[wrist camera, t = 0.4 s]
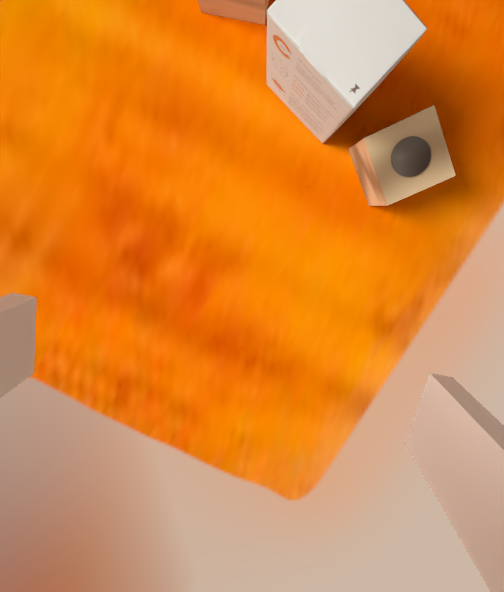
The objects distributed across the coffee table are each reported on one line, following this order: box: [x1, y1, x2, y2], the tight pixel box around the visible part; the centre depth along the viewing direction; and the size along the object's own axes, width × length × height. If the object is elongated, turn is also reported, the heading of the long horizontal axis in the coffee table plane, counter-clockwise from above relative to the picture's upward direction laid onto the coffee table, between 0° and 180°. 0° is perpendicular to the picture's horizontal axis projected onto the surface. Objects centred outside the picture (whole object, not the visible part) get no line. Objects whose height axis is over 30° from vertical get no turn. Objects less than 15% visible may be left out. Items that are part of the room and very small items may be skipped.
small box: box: [267, 0, 427, 143], centre depth 28 cm, size 8×6×13 cm
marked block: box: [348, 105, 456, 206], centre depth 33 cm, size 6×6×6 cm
